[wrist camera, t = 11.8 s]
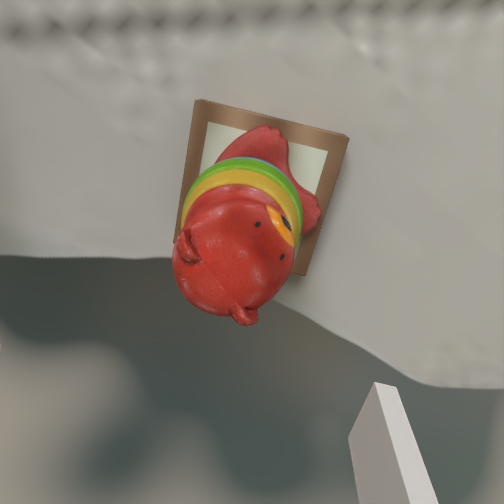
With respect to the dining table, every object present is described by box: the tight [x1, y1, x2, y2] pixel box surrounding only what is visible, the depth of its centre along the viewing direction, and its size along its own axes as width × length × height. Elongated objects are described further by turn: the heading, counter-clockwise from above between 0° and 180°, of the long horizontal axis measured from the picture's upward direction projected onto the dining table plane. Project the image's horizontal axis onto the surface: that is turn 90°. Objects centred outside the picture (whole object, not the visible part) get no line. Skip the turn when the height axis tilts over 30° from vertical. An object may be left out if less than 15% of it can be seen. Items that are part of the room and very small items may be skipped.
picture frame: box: [173, 99, 350, 276], centre depth 37 cm, size 14×14×3 cm
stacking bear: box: [172, 125, 322, 326], centre depth 27 cm, size 11×10×18 cm
